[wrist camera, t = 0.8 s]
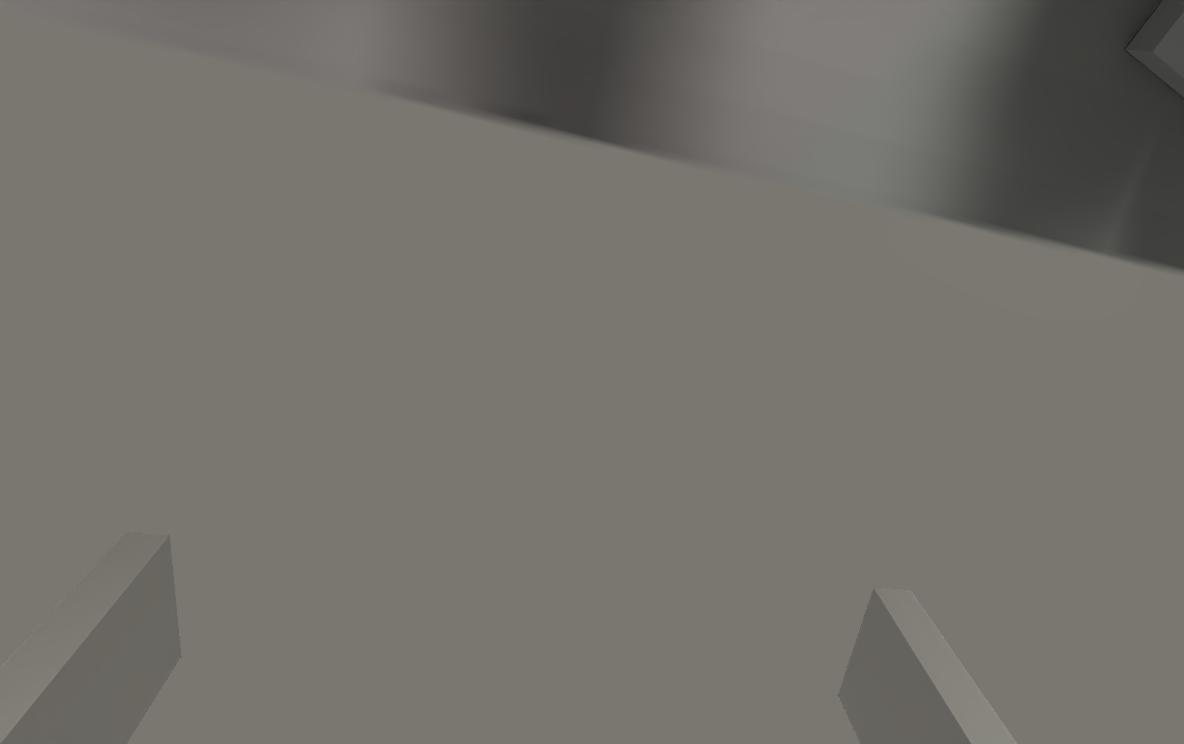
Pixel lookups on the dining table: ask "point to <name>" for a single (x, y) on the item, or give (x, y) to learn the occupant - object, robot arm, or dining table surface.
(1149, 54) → the grey stand
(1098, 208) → the dining table surface
